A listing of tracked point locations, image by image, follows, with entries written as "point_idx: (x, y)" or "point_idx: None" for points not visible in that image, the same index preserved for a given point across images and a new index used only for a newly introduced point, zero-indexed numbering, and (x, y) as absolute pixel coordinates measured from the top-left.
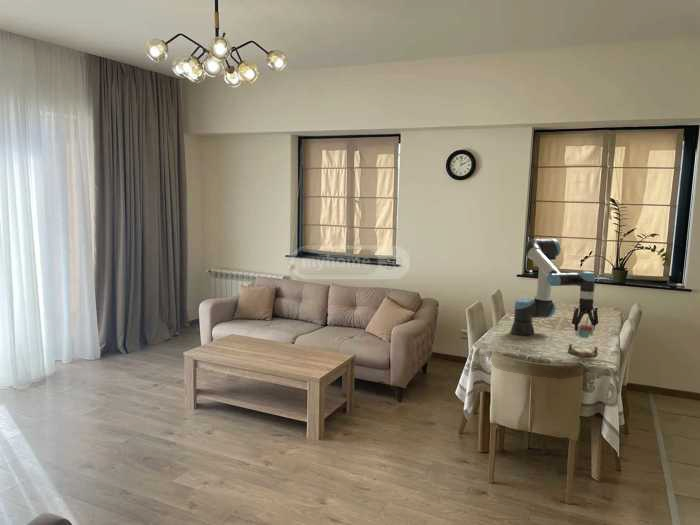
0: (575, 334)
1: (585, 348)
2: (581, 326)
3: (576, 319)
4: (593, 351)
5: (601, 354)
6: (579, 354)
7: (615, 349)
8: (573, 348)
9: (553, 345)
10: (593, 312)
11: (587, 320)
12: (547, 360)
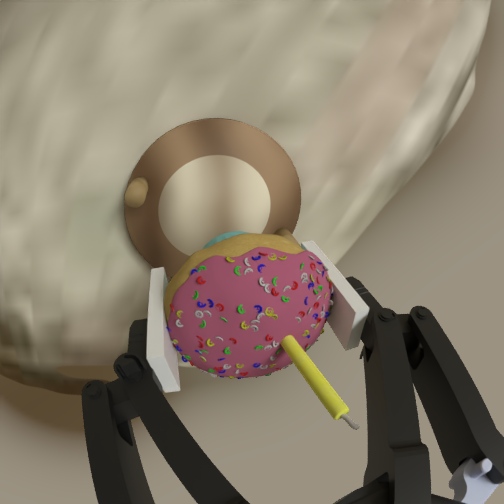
0: (151, 276)
1: (260, 160)
2: (210, 363)
3: (137, 465)
4: (275, 224)
5: (309, 224)
6: (165, 272)
7: (421, 143)
8: (171, 165)
9: (90, 41)
10: (462, 435)
11: (322, 397)
12: (20, 328)
